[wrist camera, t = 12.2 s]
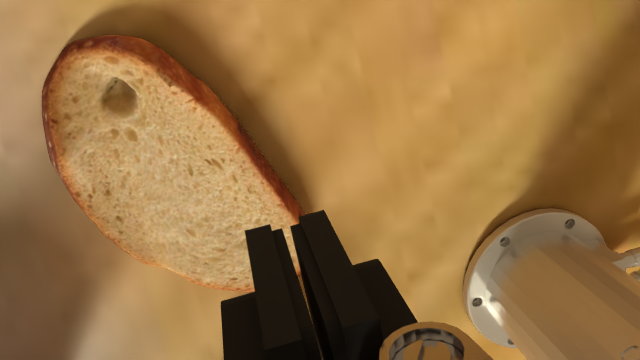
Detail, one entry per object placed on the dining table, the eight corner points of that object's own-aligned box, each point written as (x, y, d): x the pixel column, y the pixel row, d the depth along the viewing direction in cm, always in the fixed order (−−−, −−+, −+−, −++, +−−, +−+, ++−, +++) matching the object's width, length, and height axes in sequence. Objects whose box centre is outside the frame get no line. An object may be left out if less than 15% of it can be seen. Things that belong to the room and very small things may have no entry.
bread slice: (313, 280, 44) (323, 307, 40) (63, 290, 40) (50, 320, 36) (330, 43, 38) (343, 50, 34) (38, 29, 34) (19, 35, 31)
